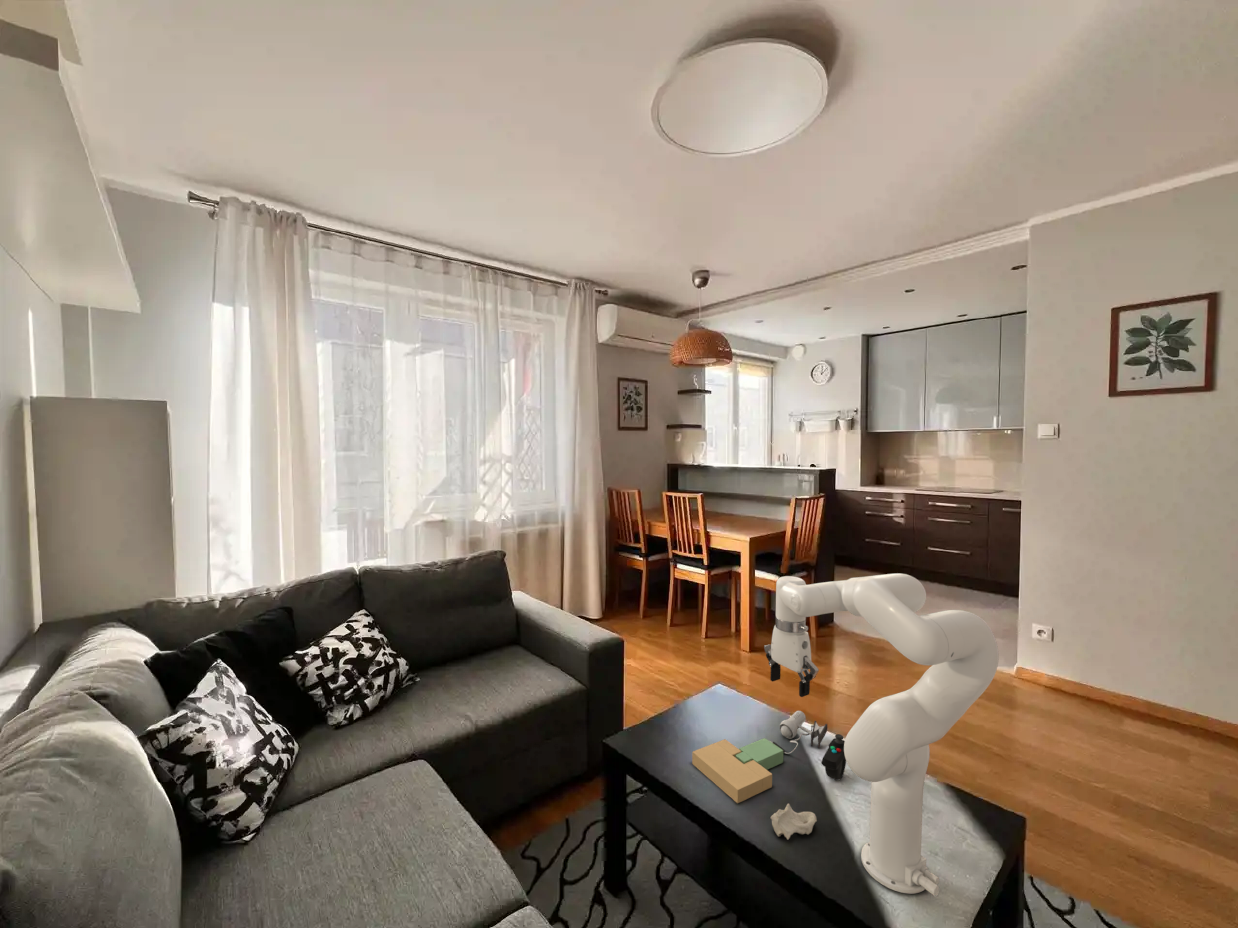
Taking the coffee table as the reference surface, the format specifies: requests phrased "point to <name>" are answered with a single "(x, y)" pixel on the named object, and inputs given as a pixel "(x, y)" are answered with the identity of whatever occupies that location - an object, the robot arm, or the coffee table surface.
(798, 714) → the clip-on lamp
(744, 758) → the green pad
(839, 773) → the controller
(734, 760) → the sand pad
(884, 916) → the coffee table surface
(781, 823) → the coral
